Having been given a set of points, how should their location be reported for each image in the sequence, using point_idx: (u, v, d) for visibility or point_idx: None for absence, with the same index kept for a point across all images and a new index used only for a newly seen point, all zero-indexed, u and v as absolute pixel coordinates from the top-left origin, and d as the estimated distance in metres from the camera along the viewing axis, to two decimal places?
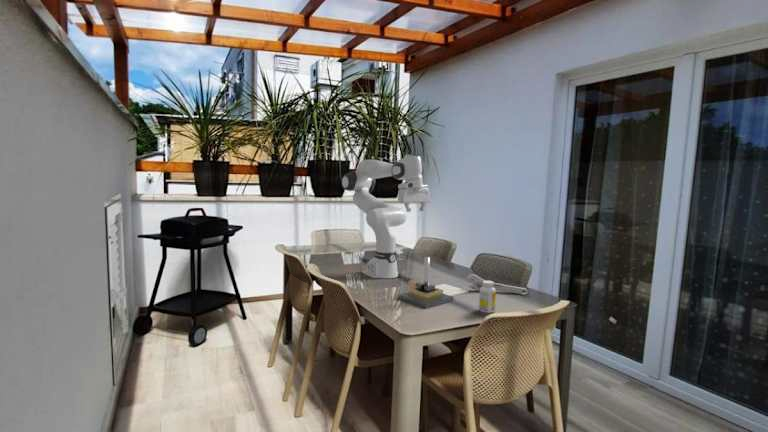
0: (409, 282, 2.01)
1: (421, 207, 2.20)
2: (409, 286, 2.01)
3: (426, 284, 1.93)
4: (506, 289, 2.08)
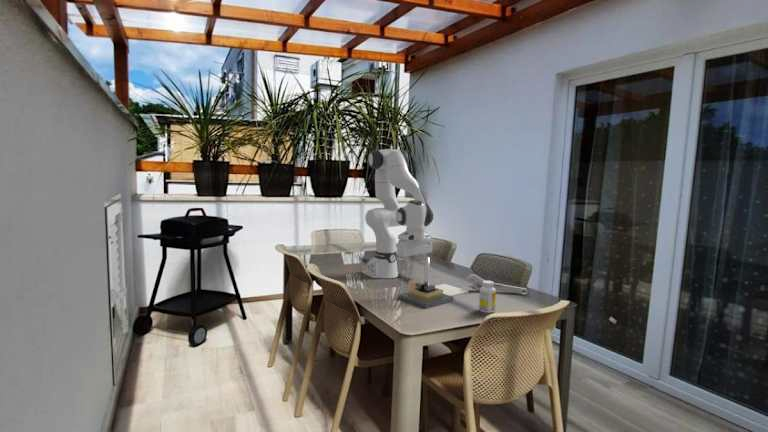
0: (409, 282, 2.01)
1: (422, 258, 2.02)
2: (409, 286, 2.01)
3: (426, 284, 1.93)
4: (506, 289, 2.08)
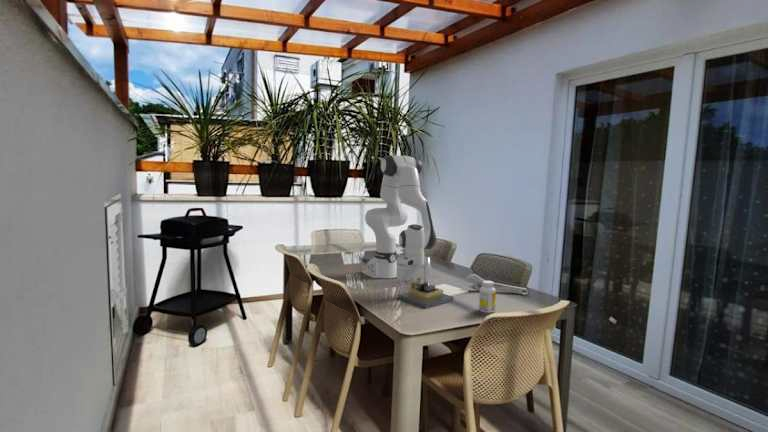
0: None
1: None
2: None
3: (426, 284, 1.93)
4: (506, 289, 2.08)
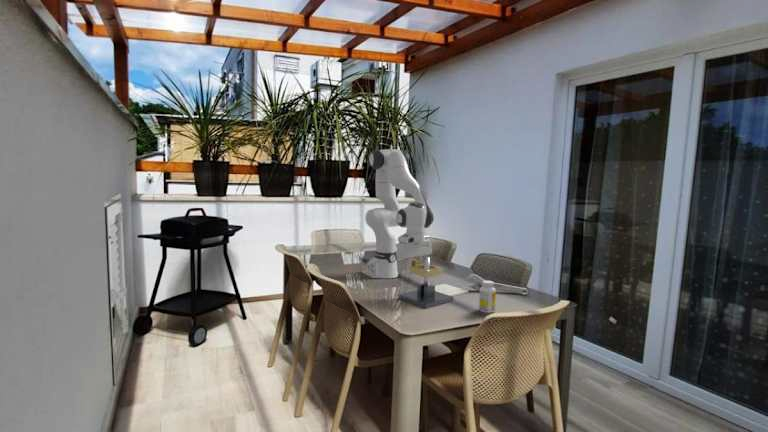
0: None
1: None
2: None
3: (426, 284, 1.93)
4: (507, 289, 2.08)
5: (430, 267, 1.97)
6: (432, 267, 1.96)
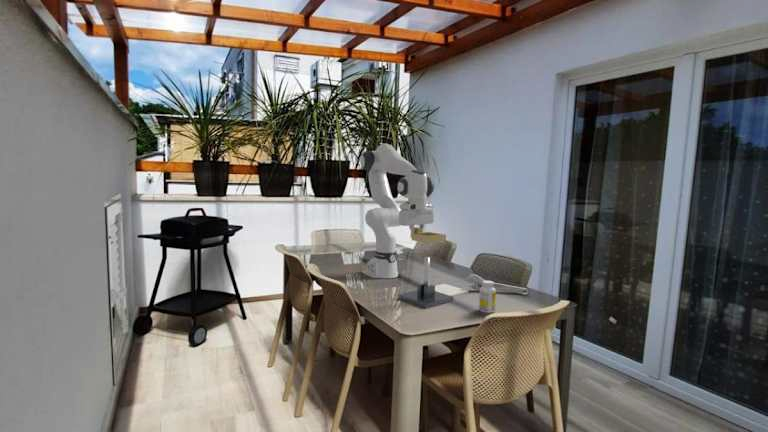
0: None
1: None
2: None
3: (426, 284, 1.93)
4: (507, 289, 2.08)
5: (432, 235, 1.96)
6: (434, 235, 1.95)
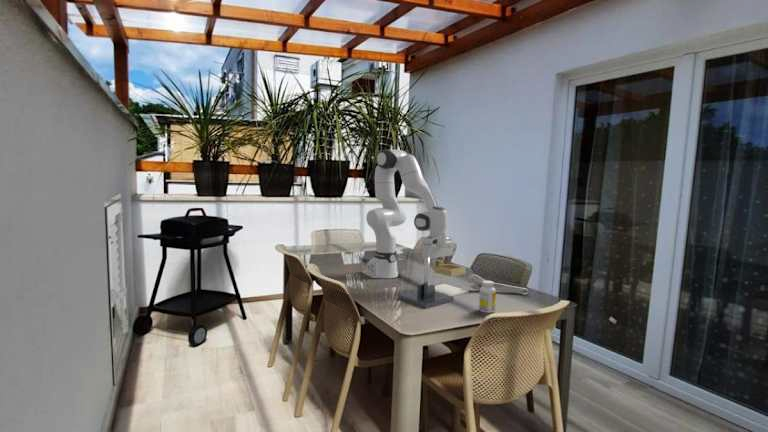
0: None
1: None
2: None
3: (426, 284, 1.93)
4: (507, 289, 2.08)
5: (453, 267, 2.10)
6: (455, 267, 2.09)
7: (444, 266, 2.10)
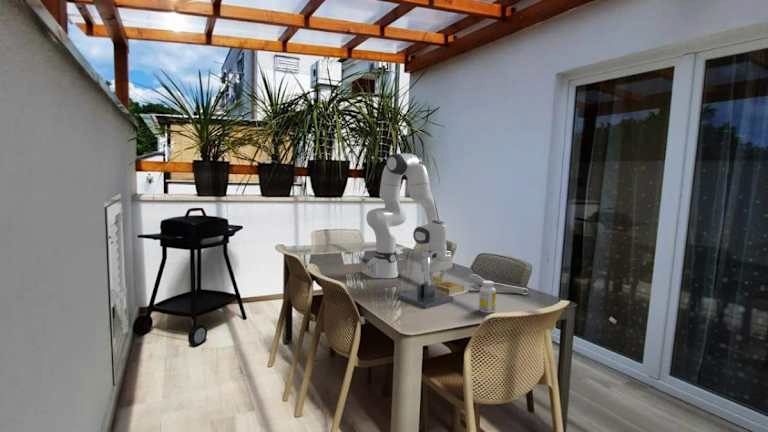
0: None
1: (441, 274, 2.16)
2: (432, 282, 2.14)
3: (426, 284, 1.93)
4: (507, 289, 2.08)
5: (451, 284, 2.11)
6: (453, 284, 2.10)
7: (443, 283, 2.11)
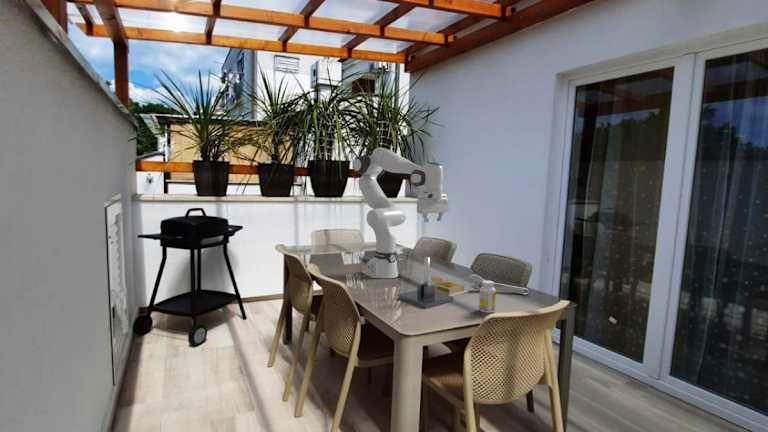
0: (432, 278, 2.14)
1: (439, 217, 2.16)
2: (432, 282, 2.14)
3: (426, 284, 1.93)
4: (508, 289, 2.08)
5: (451, 284, 2.11)
6: (453, 284, 2.10)
7: (443, 283, 2.11)
